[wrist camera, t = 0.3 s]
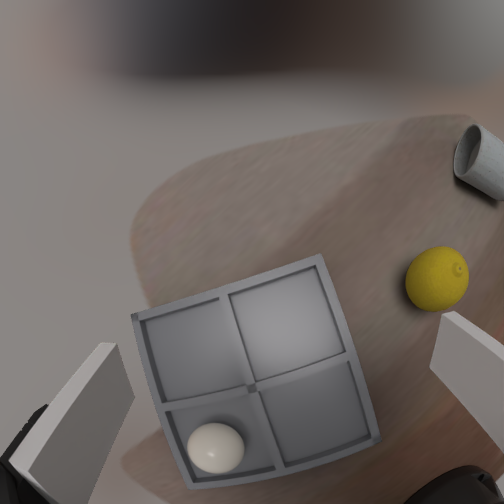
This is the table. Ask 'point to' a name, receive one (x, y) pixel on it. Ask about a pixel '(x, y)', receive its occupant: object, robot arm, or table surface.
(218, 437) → the cream egg
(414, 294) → the lemon
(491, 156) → the ceramic mug
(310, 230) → the table surface
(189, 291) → the table surface
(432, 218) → the table surface
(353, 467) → the table surface
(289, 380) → the compartment tray
